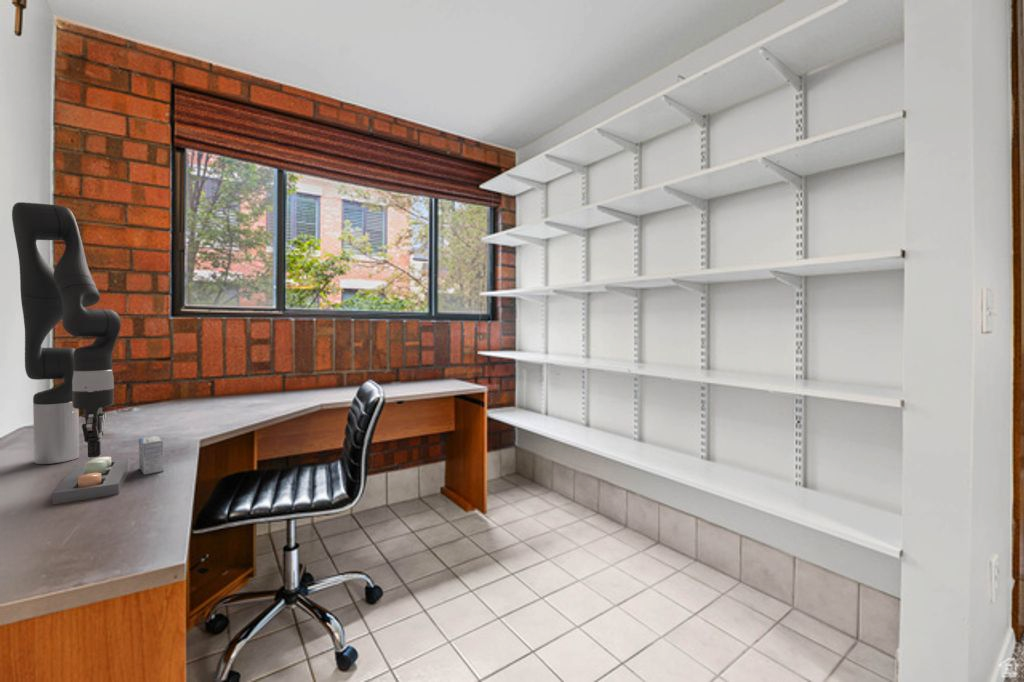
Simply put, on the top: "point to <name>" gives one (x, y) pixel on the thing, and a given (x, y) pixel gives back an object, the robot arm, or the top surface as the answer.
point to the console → (109, 485)
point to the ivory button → (104, 459)
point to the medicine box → (151, 455)
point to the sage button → (96, 466)
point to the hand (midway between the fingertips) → (94, 456)
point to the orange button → (89, 480)
